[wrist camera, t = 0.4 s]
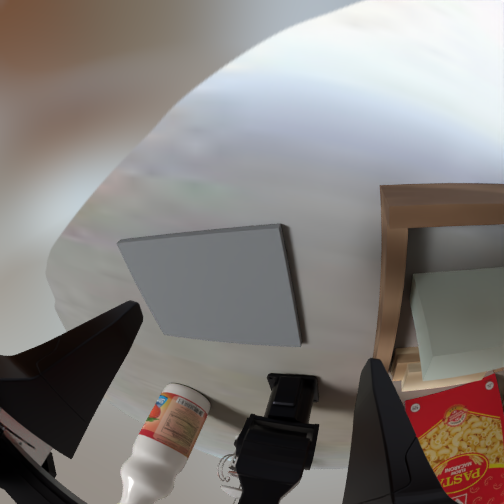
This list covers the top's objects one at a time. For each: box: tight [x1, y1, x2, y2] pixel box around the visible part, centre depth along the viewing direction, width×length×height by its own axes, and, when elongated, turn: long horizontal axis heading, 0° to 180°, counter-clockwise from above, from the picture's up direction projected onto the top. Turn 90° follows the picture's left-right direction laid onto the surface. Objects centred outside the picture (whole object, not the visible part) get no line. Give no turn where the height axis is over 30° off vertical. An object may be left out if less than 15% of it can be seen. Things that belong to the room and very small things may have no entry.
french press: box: [217, 435, 242, 504], centre depth 42 cm, size 10×12×25 cm
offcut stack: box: [391, 347, 487, 391], centre depth 23 cm, size 4×13×4 cm, turn 103°
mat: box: [117, 224, 302, 347], centre depth 28 cm, size 14×18×1 cm
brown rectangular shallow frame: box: [373, 183, 504, 373], centre depth 18 cm, size 22×18×4 cm
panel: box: [409, 267, 504, 381], centre depth 16 cm, size 3×12×9 cm, turn 103°
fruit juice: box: [117, 383, 211, 504], centre depth 34 cm, size 9×9×28 cm
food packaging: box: [405, 374, 504, 504], centre depth 18 cm, size 15×5×25 cm, turn 120°
